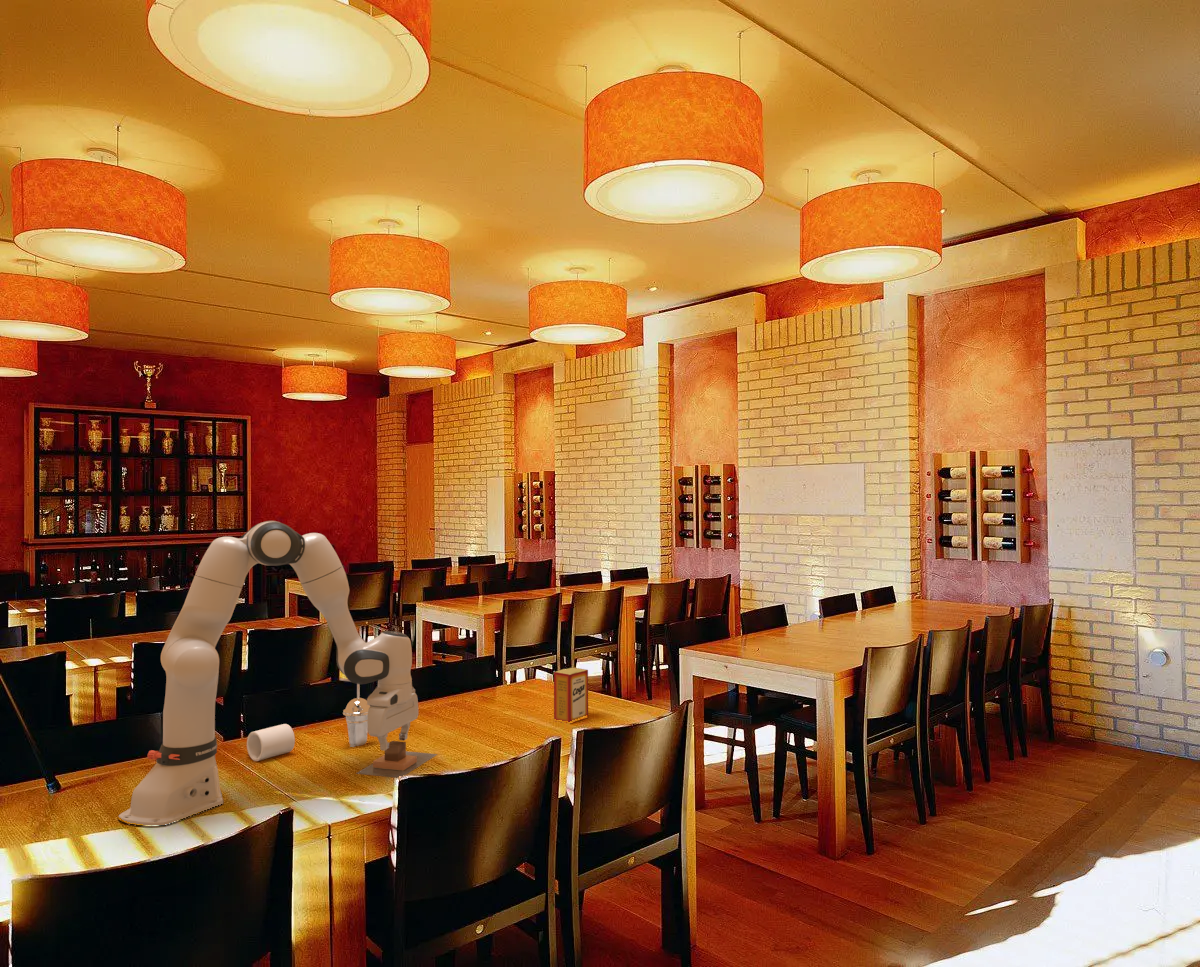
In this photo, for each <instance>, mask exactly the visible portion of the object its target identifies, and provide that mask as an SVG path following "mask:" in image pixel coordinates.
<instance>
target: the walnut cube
mask: <svg viewBox="0 0 1200 967" xmlns="http://www.w3.org/2000/svg"><path fill="white" fill-rule="evenodd" d="M406 744H407V743H406V741H401V740H392V741H389V749H387V750H385V751H384V755H385V760H387V761H397V762H398V761H400V760H402V759H403V758H405V757H406V751H407V745H406Z"/></svg>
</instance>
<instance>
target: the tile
mask: <svg viewBox="0 0 1200 967" xmlns="http://www.w3.org/2000/svg"><path fill="white" fill-rule="evenodd" d="M416 762H417V756H411V755H406V757H405V758H403V759H402V760H400V761H398V762H397V761H387V760H385V754H383V755H382V756H380V757H378V758H376V759H374V760H373V761H372V764H373V767H374V768H382V769H392V770H402V771H403V770H405V769H407V768H408V767H410V766H411V765H413V764H415V763H416Z"/></svg>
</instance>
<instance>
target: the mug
mask: <svg viewBox="0 0 1200 967" xmlns="http://www.w3.org/2000/svg"><path fill="white" fill-rule="evenodd" d="M295 742H296V737H295V733H294V731H293V728H292V726H290V725H289V724H287V723H283V724H282V723H281V724H278V725H274V726H269V727H266V728H262V729H259V730H255V731H251V732H250V733H249V734H248V736H247V739H246V749H247V750H246V751H247V753H248V756H249V757H250V759H251V760H253V761H254V762H259V761H263V760H266V759H269V758H270V759H271V758H273V757H277V756H281V755H284V754H287V753H291V752H292V751H293V749H294V747H295Z"/></svg>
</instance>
